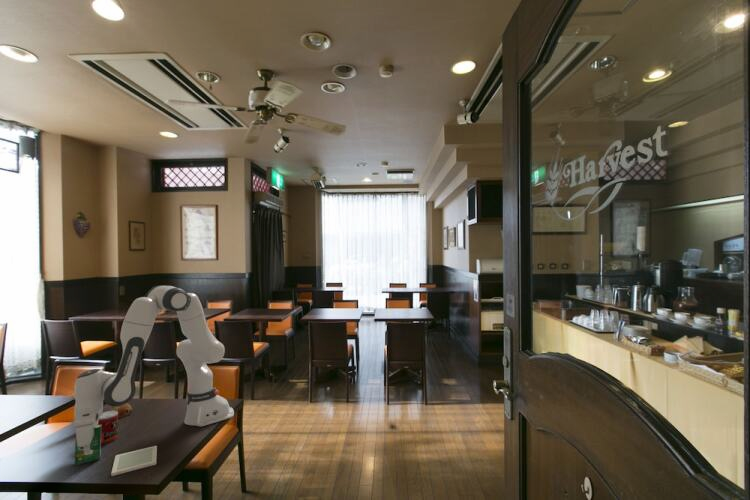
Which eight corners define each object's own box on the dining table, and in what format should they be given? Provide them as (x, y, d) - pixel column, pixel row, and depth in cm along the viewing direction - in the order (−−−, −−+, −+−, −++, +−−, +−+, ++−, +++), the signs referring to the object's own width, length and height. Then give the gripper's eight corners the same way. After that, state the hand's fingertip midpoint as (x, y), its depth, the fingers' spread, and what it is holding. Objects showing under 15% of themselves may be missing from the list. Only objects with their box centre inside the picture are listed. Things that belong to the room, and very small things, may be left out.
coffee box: (101, 456, 142) (102, 423, 142) (100, 459, 139) (101, 426, 139) (75, 462, 137) (76, 428, 138) (74, 466, 135) (74, 431, 135)
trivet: (156, 447, 147) (157, 445, 147) (156, 464, 135) (156, 461, 135) (115, 457, 140) (115, 455, 140) (111, 476, 128) (111, 473, 128)
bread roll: (122, 417, 185) (117, 403, 186) (138, 409, 184) (132, 395, 185) (106, 426, 175) (100, 411, 176) (122, 418, 174) (116, 403, 175)
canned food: (106, 444, 150) (106, 418, 151) (91, 443, 152) (91, 417, 152) (122, 436, 158) (122, 411, 158) (107, 434, 159) (108, 409, 160)
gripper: (83, 404, 146) (83, 438, 146) (72, 424, 128) (72, 462, 128) (102, 401, 149) (102, 434, 149) (94, 420, 132) (94, 457, 131)
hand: (88, 447), depth 138 cm, fingers open, 5 cm apart
